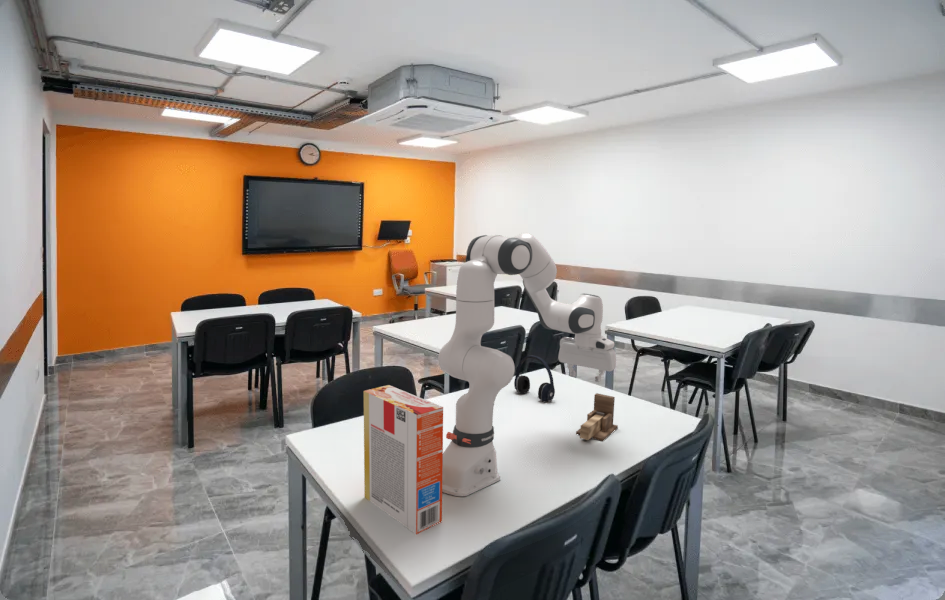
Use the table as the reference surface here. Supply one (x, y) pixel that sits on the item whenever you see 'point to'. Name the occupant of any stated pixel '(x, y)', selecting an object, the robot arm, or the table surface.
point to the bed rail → (591, 426)
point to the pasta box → (403, 456)
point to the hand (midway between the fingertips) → (585, 379)
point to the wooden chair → (604, 406)
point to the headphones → (523, 382)
